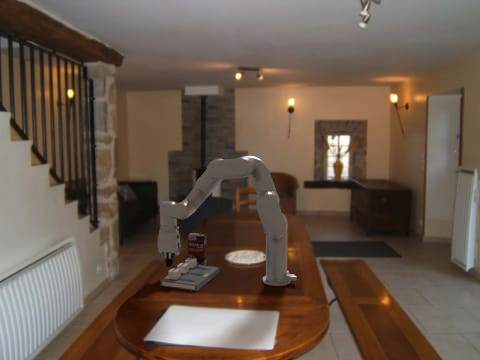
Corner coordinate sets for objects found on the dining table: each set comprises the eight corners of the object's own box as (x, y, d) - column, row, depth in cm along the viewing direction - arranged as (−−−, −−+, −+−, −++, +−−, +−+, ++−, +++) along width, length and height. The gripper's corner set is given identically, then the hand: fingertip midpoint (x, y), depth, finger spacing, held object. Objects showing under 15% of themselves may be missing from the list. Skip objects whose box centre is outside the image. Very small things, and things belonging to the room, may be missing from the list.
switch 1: (180, 276, 185) (180, 268, 185) (176, 279, 181) (176, 271, 181) (173, 275, 186) (172, 267, 186) (168, 278, 183) (168, 270, 182)
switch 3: (196, 265, 200) (196, 257, 199) (192, 268, 196) (192, 260, 196) (189, 264, 201) (189, 257, 201) (185, 267, 198) (185, 259, 197)
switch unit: (219, 272, 198) (219, 267, 198) (196, 291, 176) (196, 285, 176) (186, 268, 205) (185, 263, 204) (160, 285, 182) (160, 280, 182)
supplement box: (188, 265, 209) (187, 235, 207) (191, 262, 213) (190, 232, 211) (204, 266, 207) (203, 235, 205) (207, 263, 212) (206, 233, 210)
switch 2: (189, 270, 193) (188, 263, 192) (185, 273, 189) (184, 265, 188) (181, 269, 194) (181, 262, 193) (177, 272, 190) (177, 264, 190)
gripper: (186, 227, 192) (187, 265, 194) (158, 224, 197) (159, 261, 200) (178, 231, 185) (179, 270, 188) (150, 228, 190) (151, 266, 193)
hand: (169, 265), depth 194 cm, fingers closed
